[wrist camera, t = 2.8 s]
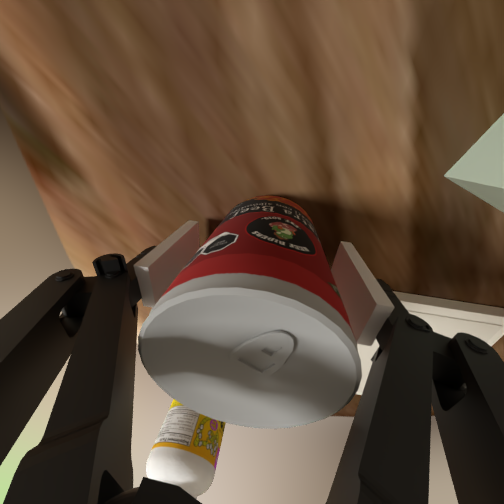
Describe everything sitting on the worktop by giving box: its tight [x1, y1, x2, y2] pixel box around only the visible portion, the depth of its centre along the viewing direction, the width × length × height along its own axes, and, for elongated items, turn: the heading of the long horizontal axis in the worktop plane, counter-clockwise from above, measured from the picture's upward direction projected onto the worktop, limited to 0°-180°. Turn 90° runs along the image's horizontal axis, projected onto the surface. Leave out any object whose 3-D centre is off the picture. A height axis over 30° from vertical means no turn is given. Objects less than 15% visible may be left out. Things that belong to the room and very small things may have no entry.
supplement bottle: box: [146, 399, 226, 499], centre depth 22 cm, size 7×7×13 cm
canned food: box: [138, 195, 362, 429], centre depth 12 cm, size 8×8×11 cm
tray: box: [356, 291, 504, 395], centre depth 20 cm, size 14×14×1 cm
